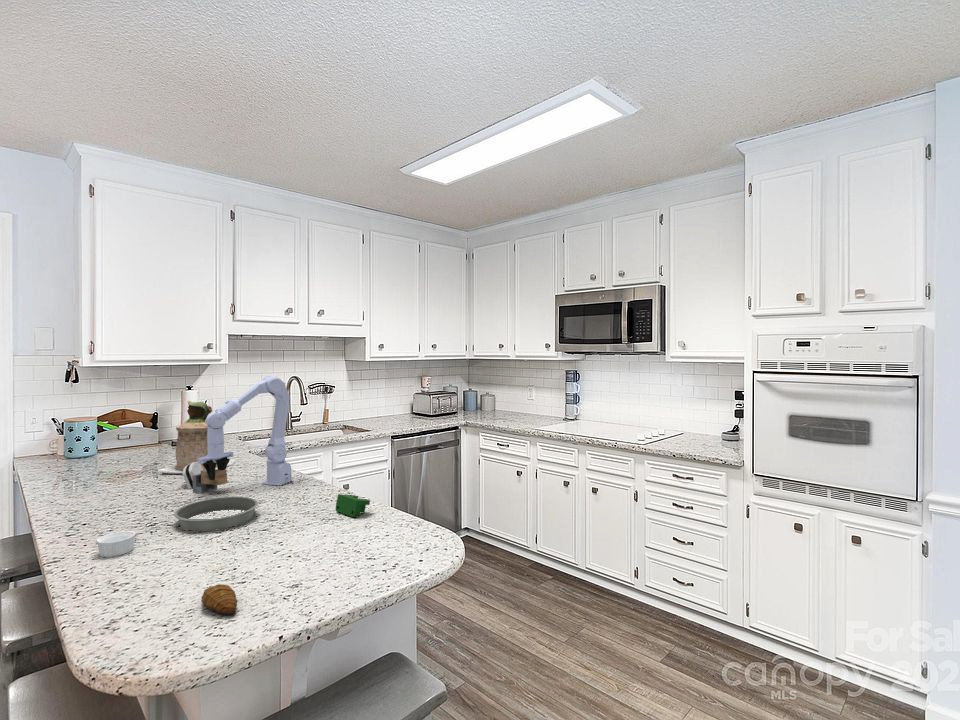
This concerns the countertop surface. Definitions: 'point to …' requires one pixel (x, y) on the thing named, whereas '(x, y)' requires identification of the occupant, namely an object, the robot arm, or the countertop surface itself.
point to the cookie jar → (192, 438)
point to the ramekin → (116, 543)
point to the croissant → (220, 599)
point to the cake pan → (216, 505)
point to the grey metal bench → (201, 485)
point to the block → (219, 477)
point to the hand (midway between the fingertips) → (216, 478)
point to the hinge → (191, 473)
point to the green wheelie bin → (351, 505)
